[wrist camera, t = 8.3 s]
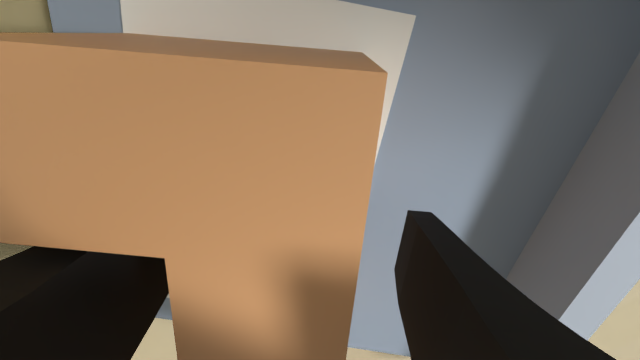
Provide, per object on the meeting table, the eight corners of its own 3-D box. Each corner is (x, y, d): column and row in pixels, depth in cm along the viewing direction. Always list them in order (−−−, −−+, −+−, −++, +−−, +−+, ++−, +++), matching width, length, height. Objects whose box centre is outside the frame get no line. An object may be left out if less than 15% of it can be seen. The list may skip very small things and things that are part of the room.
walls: (741, -91, 8) (998, -145, 5) (474, 346, 15) (508, 433, 12) (36, -245, 7) (-188, -425, 4) (119, 291, 15) (61, 368, 12)
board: (741, -91, 8) (797, -102, 7) (474, 346, 15) (483, 370, 15) (36, -245, 7) (-10, -282, 6) (119, 291, 15) (103, 311, 14)
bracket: (328, 340, 13) (322, 515, 8) (168, 324, 13) (71, 488, 8) (361, 52, 9) (387, 72, 4) (128, 33, 9) (-106, 31, 4)
